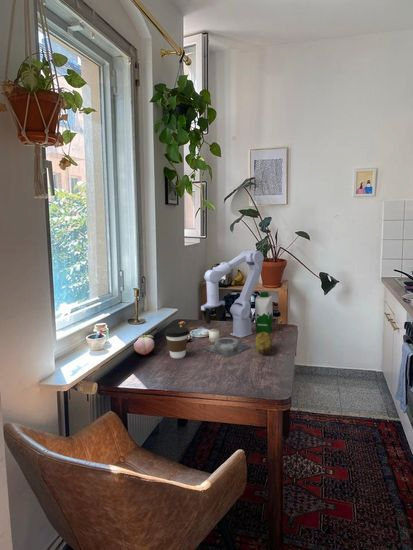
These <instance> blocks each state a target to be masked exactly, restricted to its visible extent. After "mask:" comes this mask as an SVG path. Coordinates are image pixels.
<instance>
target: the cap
mask: <svg viewBox="0 0 413 550" xmlns="http://www.w3.org/2000/svg"><path fill="white" fill-rule="evenodd" d="M208 336H209V338H208V342H211V343H215V341H216V340H217V339H220V330H219V329H218V328H211V329H209V330H208Z"/></svg>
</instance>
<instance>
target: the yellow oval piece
mask: <svg viewBox="0 0 413 550" xmlns="http://www.w3.org/2000/svg"><path fill="white" fill-rule="evenodd" d="M272 342H273V340H272V338H271V334H270V333H267V332H257V335H256V337H255V347H256V351H257V353H259V354H261V355H268V354H270V352H271V351H272V350H271V349H272V345H273V344H272Z"/></svg>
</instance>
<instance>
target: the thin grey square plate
mask: <svg viewBox="0 0 413 550" xmlns="http://www.w3.org/2000/svg"><path fill="white" fill-rule="evenodd" d="M251 348H252V346H249V345H247V344H243V343H239V340H238V339H237V338H233V337H219V339H217V340H216V341H215V342H214V343H213V344H211V345H207V346H204V347H202V348H201V350H203V351H206V352H210V353H213V354H215V355H219V356H221V357H224V358H229V357H233V356H235V355H238V354H240V353H242V352H245V351H247V350H249V349H251Z"/></svg>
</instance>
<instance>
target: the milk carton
mask: <svg viewBox="0 0 413 550" xmlns="http://www.w3.org/2000/svg"><path fill="white" fill-rule="evenodd" d="M259 294H260V295H257V296H256V297H255V301H254V305H255V306H254V314H255V315H254V319H255V321H254V322H255V332H256V333H260V332H267V333H269V334H270V333H271V331H272V329H273V323H274V321H273V316H274V315H273V312H274V311H273V296H272V295H269V292H267V291H261V292H260V293H259Z"/></svg>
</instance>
